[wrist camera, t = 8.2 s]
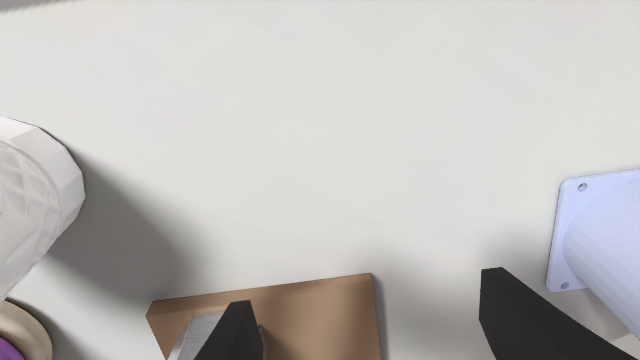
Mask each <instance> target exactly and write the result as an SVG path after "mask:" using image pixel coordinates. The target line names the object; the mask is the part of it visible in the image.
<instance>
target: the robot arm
mask: <svg viewBox="0 0 640 360" xmlns="http://www.w3.org/2000/svg"><path fill="white" fill-rule="evenodd" d="M580 184H582V186H581V187H580V188H578V186H579V185H580ZM546 287H547V288H548V289H549V291H551V292H561V291H569V290H577V289H585V288H589V289H590V290H591V291H592V292H593V293H594V294H595V295H596V296H597V297H598V298H599V299H600V300H601V301H602V302H603V303H604V304H605V305H606V306H607V307H608V308H609V309H610V310H611V311H612V312H613V313H614V314H615V315H616V317H617V318H618V319H619V320H620V321H621V322H622V323H623V324H624V325H625V326H626V327H627V328H628V329H629V330H630V331H631V332H632V333H633V334H634V335H635V336H636V337H637V338H638V339H639V340H640V169H633V170H626V171H618V172H611V173H604V174H596V175H589V176H582V177H575V178H569V179H567V180H565V181H564V182H563V183H562V184H561V187H560V193H559V200H558V206H557V213H556V219H555V226H554V232H553V239H552V246H551V252H550V259H549V265H548V272H547V278H546ZM479 321H480V323H481V326H482V328H483V331H484V333H485V336H486V338H487V340H488V343H489V345H490V347H491V350H492V352H493V354H494V356H495V358H496V359H497V360H638V359H636V358H634V357H633V356H631V355H629V354H627V353H626V352H624V351H622V350H620V349H619V348H617V347H615V346H614V345H612V344H610V343H609V342H607V341H606V340H604V339H602V338H601V337H599V336H598V335H596V334H595V333H593V332H592V331H590V330H589V329H587V328H585V327H584V326H582V325H581V324H579V323H578V322H576V321H575V320H573V319H572V318H570V317H569V316H568V315H566V314H565V313H563V312H562V311H560V310H559V309H558V308H556V307H555V306H553V305H552V304H551V303H549V302H548V301H547V300H545V299H544V298H542V297H541V296H540V295H538V294H537V293H536V292H534V291H533V290H532V289H530V288H529V287H528V286H526V285H525V284H524V283H522V282H521V281H520V280H518V279H517V278H516V277H514V276H513V275H512V274H511V273H509V272H508V271H507V270H505V269H504V268H502V267H498V268H490V269H482V271H481V289H480V307H479ZM193 360H263V343H262V339H261V336H260V332H259V329H258V325H257V322H256V319H255V315H254V312H253V308H252V305H251V301H250V300H243V301H236V302H231V303H230V304H229V305H228V307H227V308H226V310H225V311H224V313H223V315H222V316H221V318H220V320H219V321H218V323H217V324H216V326H215V328H214V329H213V331H212V332H211V334H210V335H209V337H208V339H207V340H206V342H205V343H204V345H203V346H202V348H201V349H200V350H199V352H198V353H197V355H196V356H195V358H194V359H193Z"/></svg>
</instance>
